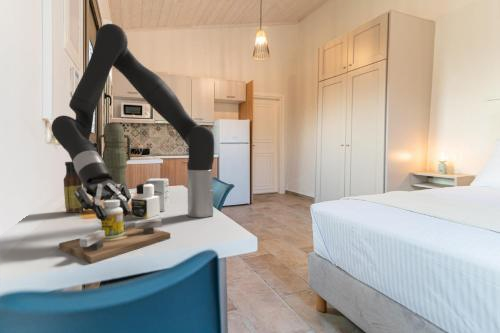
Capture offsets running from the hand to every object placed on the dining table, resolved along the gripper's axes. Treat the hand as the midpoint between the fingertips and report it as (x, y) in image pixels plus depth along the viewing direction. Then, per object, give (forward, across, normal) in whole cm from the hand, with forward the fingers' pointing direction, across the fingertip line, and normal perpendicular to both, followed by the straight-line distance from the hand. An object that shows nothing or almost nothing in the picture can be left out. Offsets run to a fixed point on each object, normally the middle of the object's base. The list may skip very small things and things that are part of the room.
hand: (116, 216), depth 79 cm
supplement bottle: (+3, 0, +5) cm, 6 cm away
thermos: (-23, +23, +34) cm, 47 cm away
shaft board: (+5, 0, +5) cm, 7 cm away
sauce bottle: (-29, +11, +40) cm, 51 cm away
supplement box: (-12, +32, +23) cm, 42 cm away
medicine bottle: (-9, +23, +20) cm, 32 cm away
